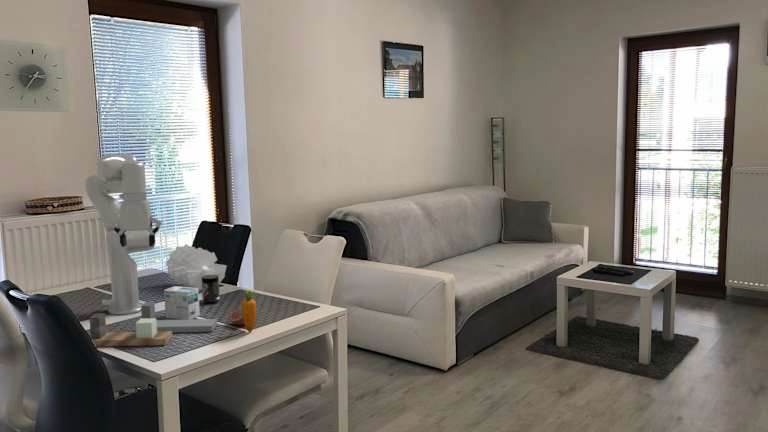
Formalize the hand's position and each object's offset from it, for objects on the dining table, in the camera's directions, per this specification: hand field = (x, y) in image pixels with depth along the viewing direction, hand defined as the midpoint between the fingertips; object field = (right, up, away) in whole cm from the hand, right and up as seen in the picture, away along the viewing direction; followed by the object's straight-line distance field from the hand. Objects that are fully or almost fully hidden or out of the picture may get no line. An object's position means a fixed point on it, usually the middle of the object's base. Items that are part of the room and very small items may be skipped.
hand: (137, 245), depth 229 cm
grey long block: (+15, -29, -2) cm, 33 cm away
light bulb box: (+12, -27, +12) cm, 32 cm away
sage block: (+9, -29, -16) cm, 34 cm away
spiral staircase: (+4, -21, +57) cm, 61 cm away
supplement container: (+17, -24, +32) cm, 44 cm away
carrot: (+41, -29, -6) cm, 51 cm away
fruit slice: (+35, -28, +2) cm, 45 cm away
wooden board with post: (+4, -31, -16) cm, 35 cm away
